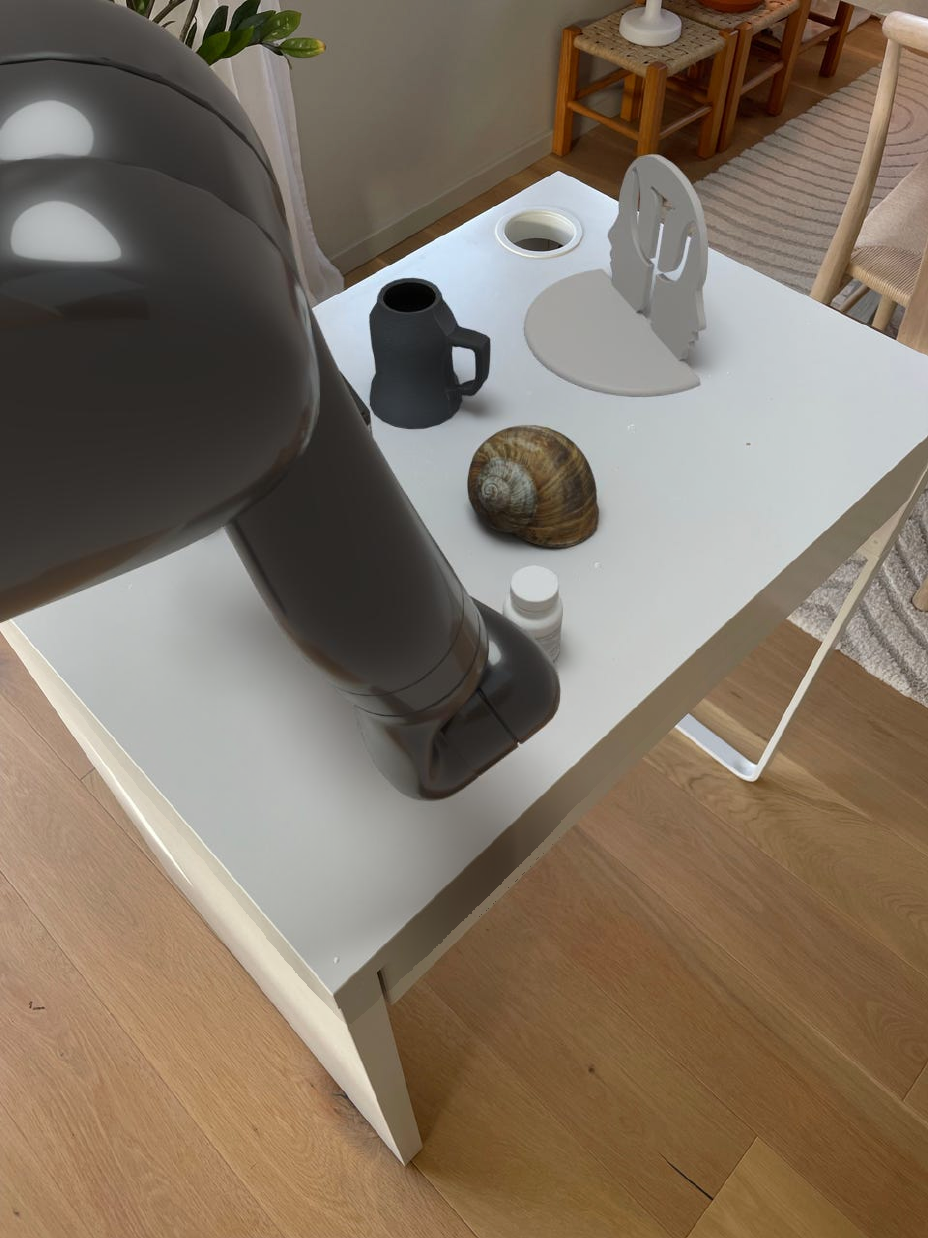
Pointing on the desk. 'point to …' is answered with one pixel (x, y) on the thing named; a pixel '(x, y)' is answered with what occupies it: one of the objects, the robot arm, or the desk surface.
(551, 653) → the pill bottle
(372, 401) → the mug
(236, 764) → the desk surface
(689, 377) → the ornament
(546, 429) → the seashell
